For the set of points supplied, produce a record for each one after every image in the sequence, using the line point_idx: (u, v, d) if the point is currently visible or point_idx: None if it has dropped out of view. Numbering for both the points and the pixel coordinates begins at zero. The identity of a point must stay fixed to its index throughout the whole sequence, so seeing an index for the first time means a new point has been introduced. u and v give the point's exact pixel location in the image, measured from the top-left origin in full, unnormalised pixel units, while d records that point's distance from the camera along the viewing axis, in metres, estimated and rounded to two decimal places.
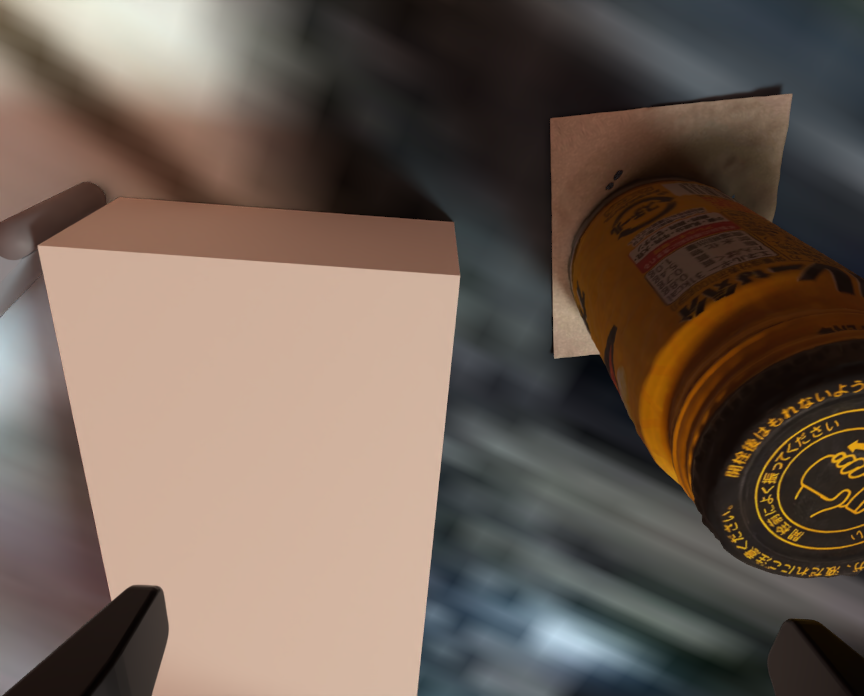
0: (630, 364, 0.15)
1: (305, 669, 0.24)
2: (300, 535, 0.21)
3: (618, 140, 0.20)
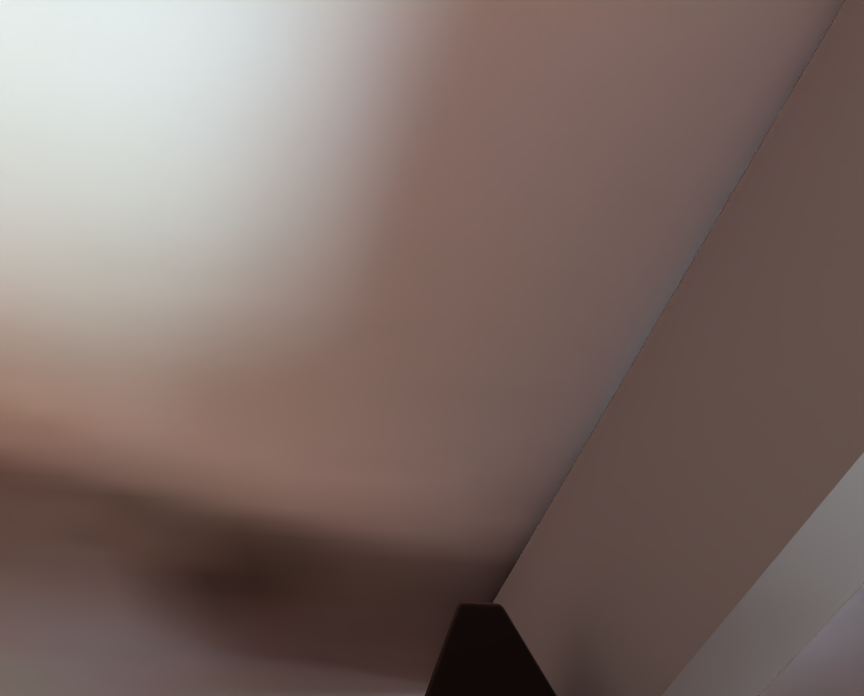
0: None
1: None
2: None
3: None
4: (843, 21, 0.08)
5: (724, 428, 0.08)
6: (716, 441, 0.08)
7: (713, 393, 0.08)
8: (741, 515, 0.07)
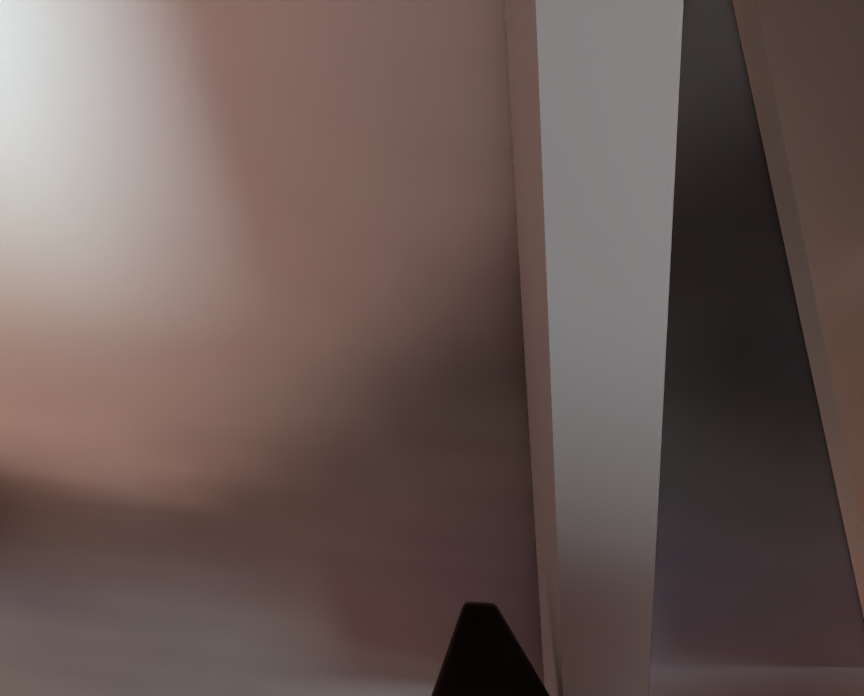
0: None
1: None
2: None
3: None
4: (504, 9, 0.08)
5: (539, 416, 0.08)
6: (539, 429, 0.08)
7: (534, 383, 0.08)
8: (549, 498, 0.07)
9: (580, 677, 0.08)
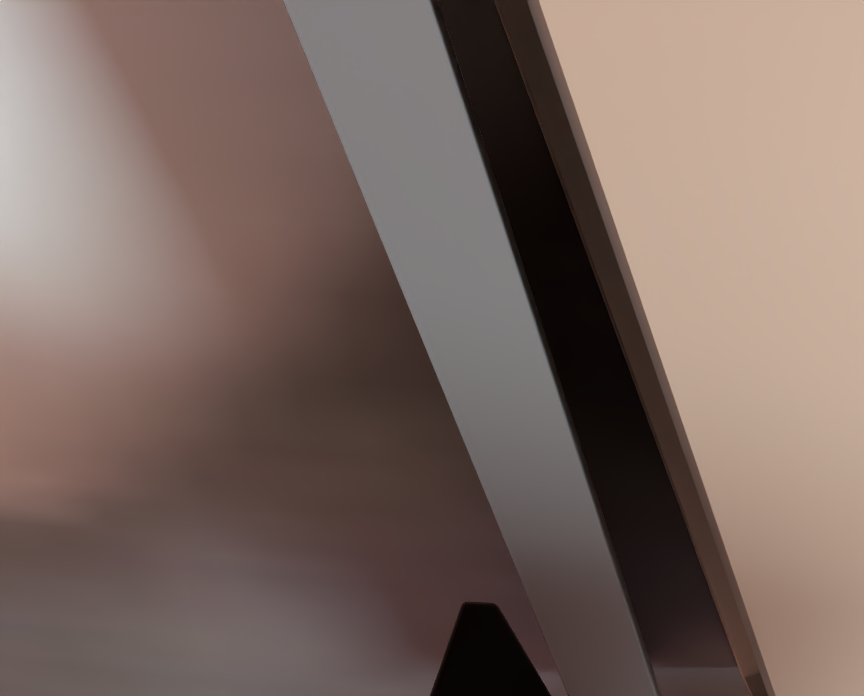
0: None
1: None
2: None
3: None
4: None
5: None
6: None
7: None
8: None
9: (567, 648, 0.08)
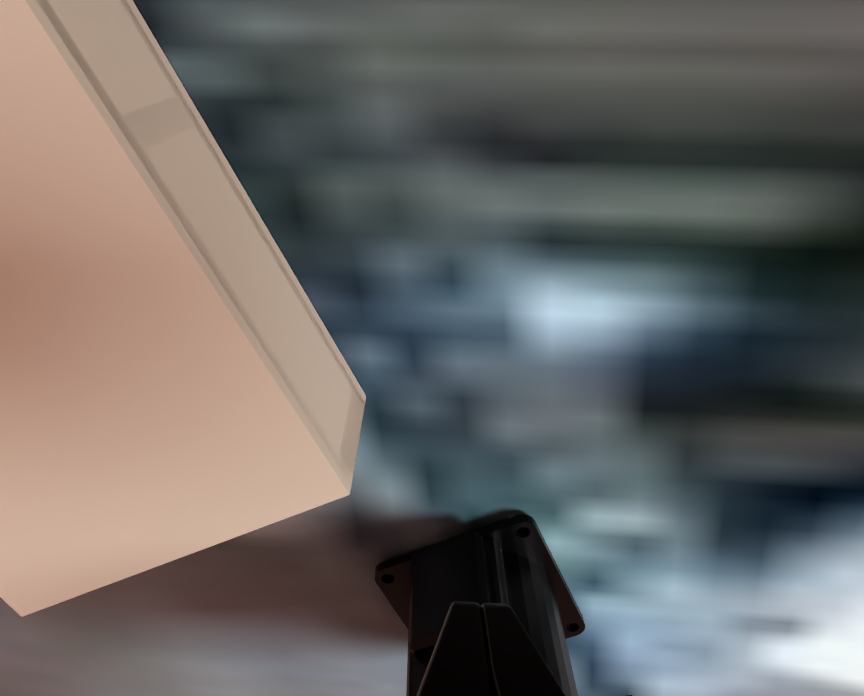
0: None
1: (127, 440, 0.16)
2: None
3: None
4: None
5: None
6: None
7: None
8: None
9: None
